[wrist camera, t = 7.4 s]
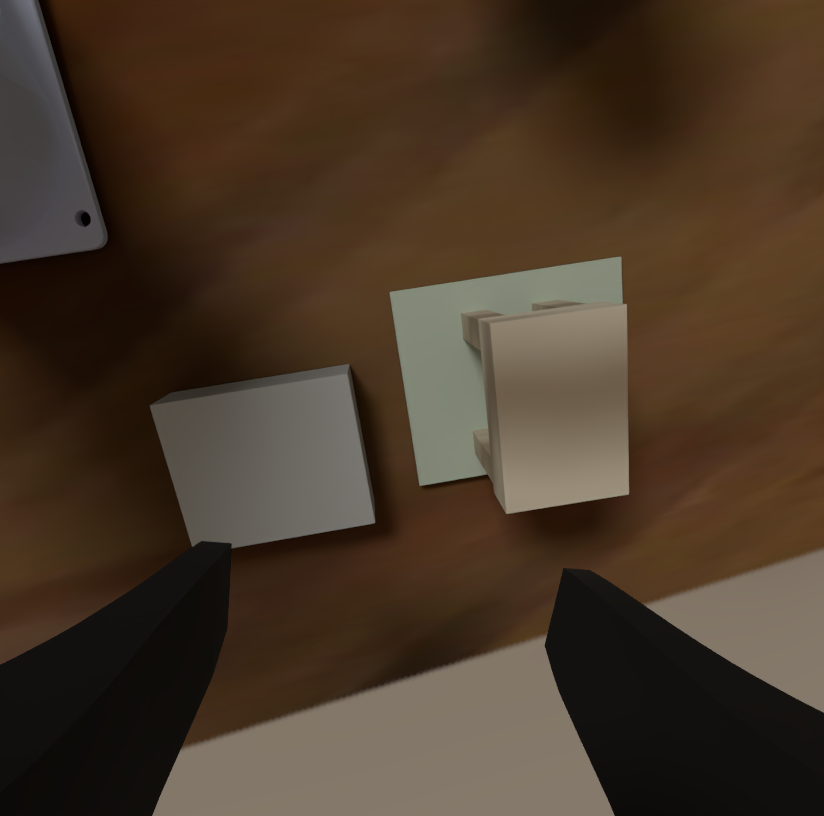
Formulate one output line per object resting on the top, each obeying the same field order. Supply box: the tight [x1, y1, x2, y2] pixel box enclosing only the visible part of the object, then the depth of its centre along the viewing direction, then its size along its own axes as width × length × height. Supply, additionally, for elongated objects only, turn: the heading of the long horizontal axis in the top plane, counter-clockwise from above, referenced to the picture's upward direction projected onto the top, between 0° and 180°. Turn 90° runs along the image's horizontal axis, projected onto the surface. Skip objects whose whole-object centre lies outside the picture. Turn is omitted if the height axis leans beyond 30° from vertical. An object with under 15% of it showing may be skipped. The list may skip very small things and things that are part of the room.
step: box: [150, 364, 375, 548], centre depth 19 cm, size 6×7×2 cm
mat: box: [389, 257, 623, 486], centre depth 20 cm, size 8×9×1 cm
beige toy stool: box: [461, 300, 629, 514], centre depth 17 cm, size 6×4×5 cm, turn 7°
